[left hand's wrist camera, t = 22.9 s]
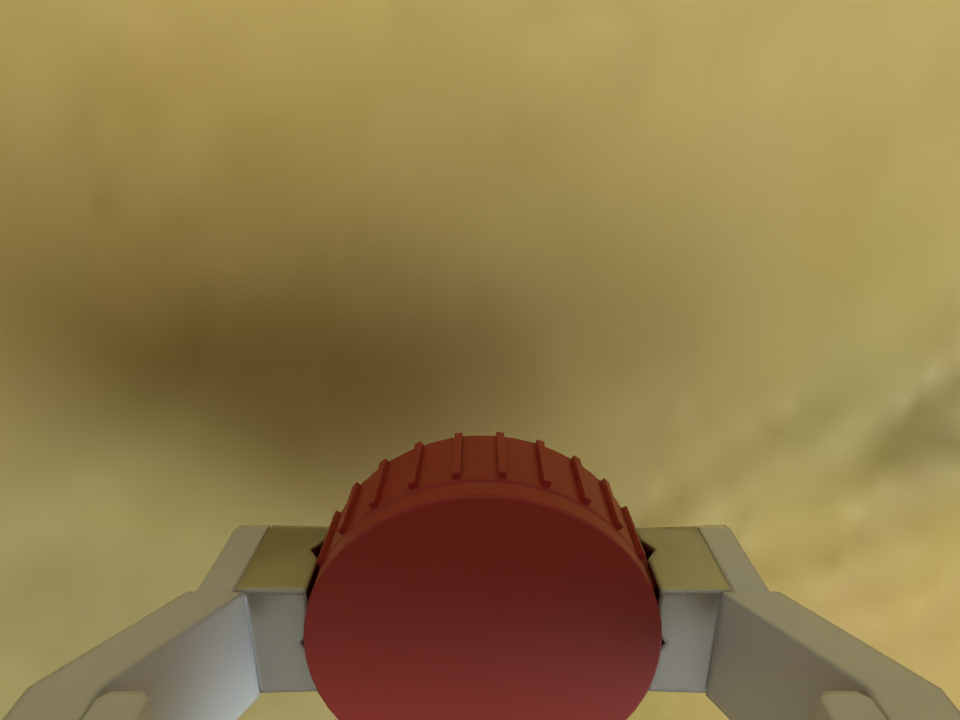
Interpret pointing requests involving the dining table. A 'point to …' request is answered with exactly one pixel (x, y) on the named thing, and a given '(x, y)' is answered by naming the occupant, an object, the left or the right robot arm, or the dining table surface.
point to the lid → (482, 591)
